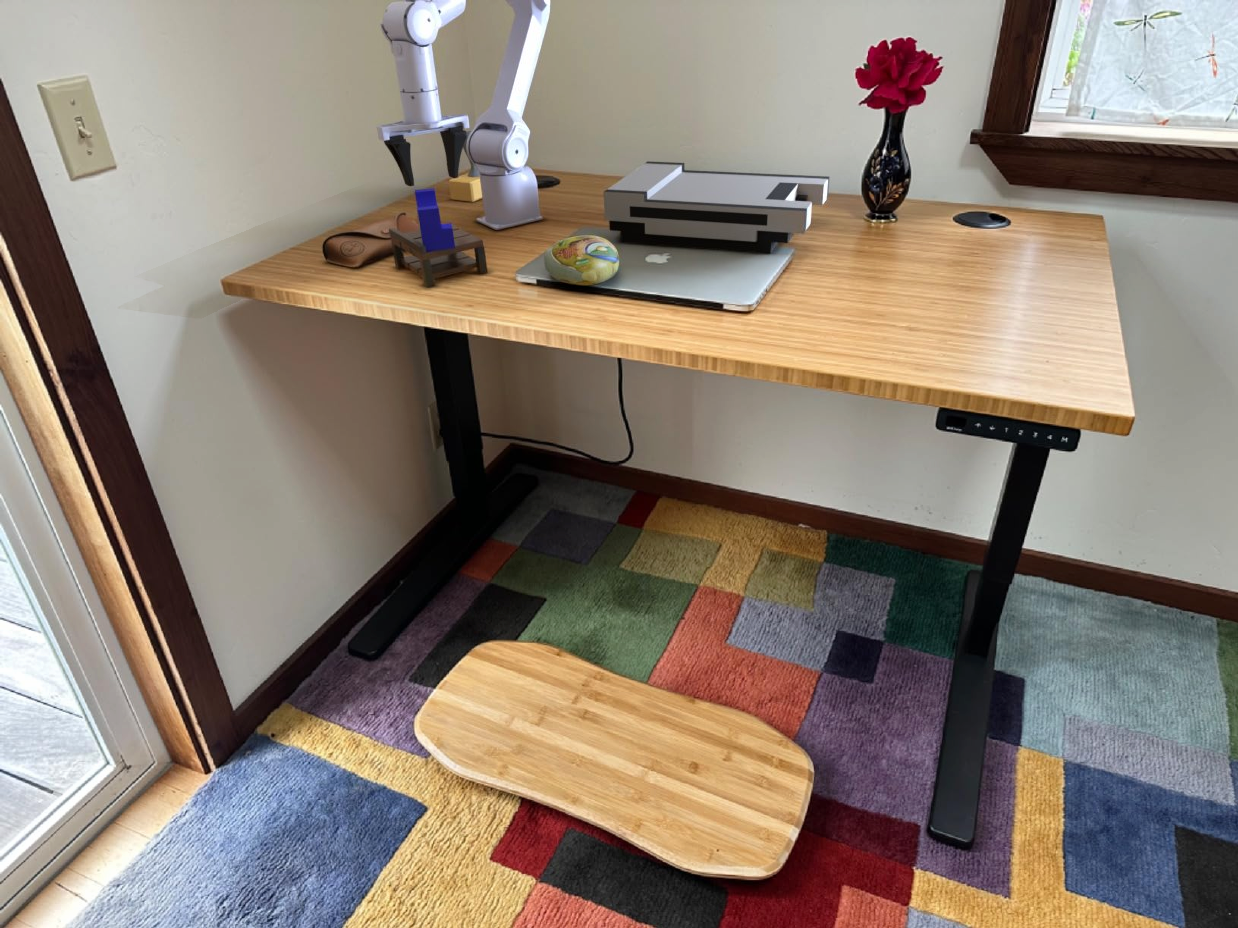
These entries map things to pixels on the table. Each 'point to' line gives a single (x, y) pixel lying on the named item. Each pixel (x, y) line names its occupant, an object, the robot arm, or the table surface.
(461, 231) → the rack
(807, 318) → the table surface
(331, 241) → the sunglasses case
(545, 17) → the robot arm
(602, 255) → the cell model
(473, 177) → the rubber stamp
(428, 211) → the blue stepped block
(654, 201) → the game console
